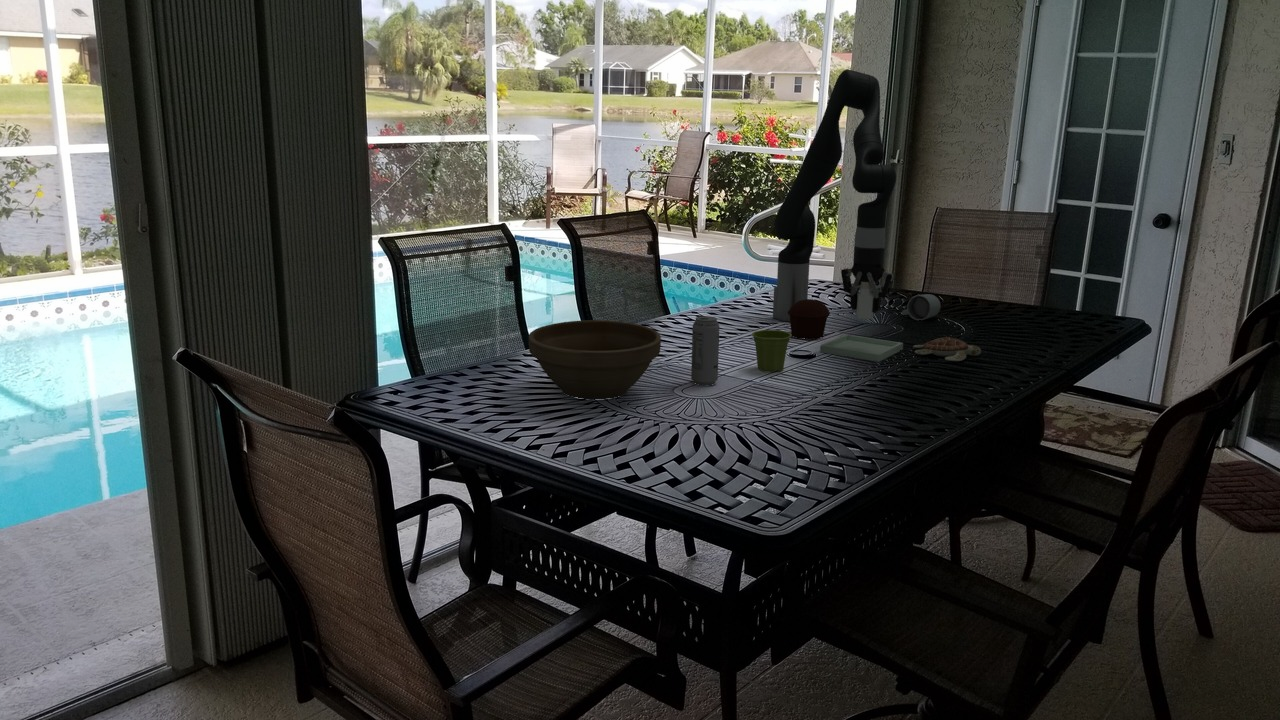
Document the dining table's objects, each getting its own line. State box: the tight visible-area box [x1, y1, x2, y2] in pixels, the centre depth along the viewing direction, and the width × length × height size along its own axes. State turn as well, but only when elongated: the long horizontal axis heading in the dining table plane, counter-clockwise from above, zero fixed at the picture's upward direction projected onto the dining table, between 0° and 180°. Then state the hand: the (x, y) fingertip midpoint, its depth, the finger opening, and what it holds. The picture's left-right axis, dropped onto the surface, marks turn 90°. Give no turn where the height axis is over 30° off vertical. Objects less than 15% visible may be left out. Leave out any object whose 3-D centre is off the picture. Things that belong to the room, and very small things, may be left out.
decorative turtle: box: [912, 336, 982, 362], centre depth 241 cm, size 18×17×5 cm
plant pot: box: [751, 329, 793, 373], centre depth 225 cm, size 9×9×9 cm
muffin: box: [788, 298, 831, 340], centre depth 259 cm, size 12×11×10 cm
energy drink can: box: [690, 315, 720, 386], centre depth 212 cm, size 6×6×15 cm
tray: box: [819, 333, 904, 363], centre depth 244 cm, size 16×16×2 cm
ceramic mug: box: [901, 293, 941, 321], centre depth 285 cm, size 11×8×8 cm
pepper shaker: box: [855, 282, 875, 320], centre depth 241 cm, size 4×4×10 cm
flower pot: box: [528, 319, 662, 399], centre depth 204 cm, size 28×28×13 cm
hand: (865, 310), depth 242 cm, fingers closed on pepper shaker, 5 cm apart
